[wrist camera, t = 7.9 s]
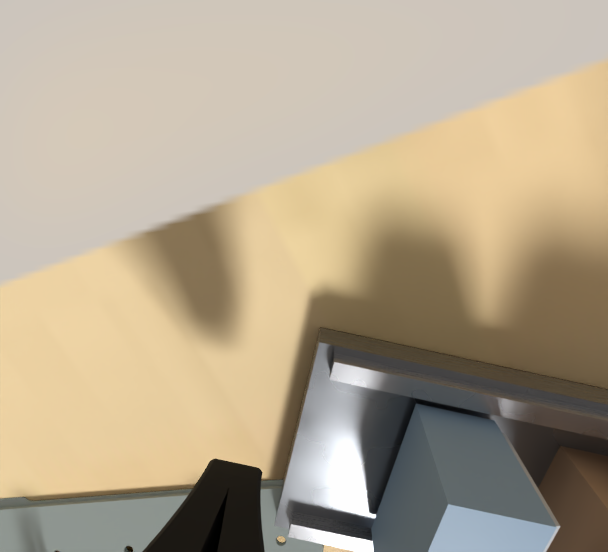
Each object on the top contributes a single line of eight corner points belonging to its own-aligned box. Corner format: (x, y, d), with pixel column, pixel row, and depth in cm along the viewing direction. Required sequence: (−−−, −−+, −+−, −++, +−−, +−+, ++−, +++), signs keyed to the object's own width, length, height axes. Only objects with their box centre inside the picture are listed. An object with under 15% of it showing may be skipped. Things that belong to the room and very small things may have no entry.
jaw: (504, 422, 12) (570, 530, 9) (448, 545, 14) (485, 674, 10) (415, 403, 12) (448, 504, 9) (371, 529, 14) (384, 653, 10)
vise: (778, 426, 13) (1020, 581, 8) (662, 584, 15) (802, 771, 11) (320, 327, 13) (314, 430, 8) (277, 501, 15) (254, 655, 11)
